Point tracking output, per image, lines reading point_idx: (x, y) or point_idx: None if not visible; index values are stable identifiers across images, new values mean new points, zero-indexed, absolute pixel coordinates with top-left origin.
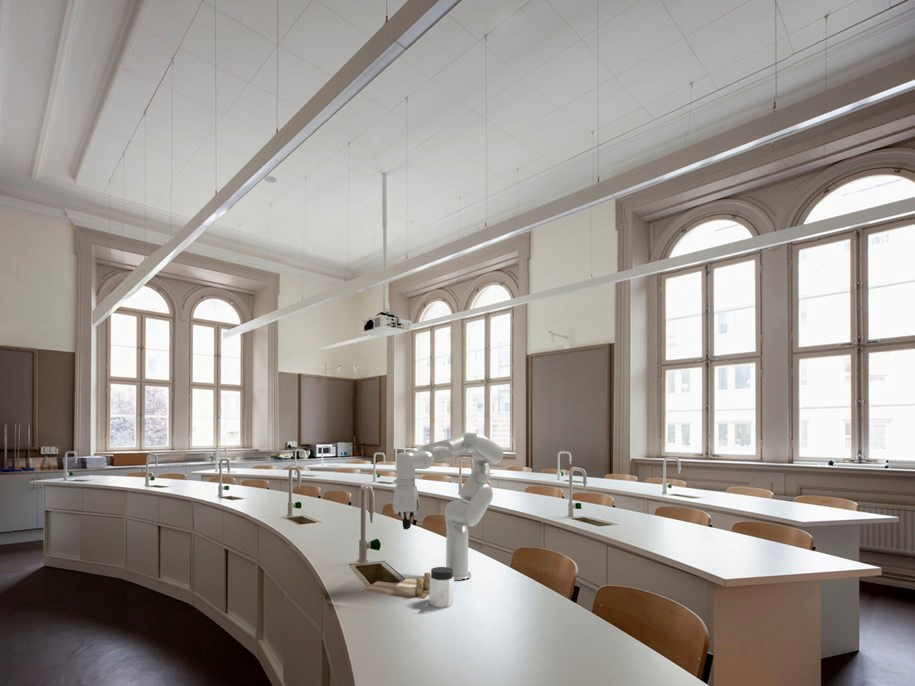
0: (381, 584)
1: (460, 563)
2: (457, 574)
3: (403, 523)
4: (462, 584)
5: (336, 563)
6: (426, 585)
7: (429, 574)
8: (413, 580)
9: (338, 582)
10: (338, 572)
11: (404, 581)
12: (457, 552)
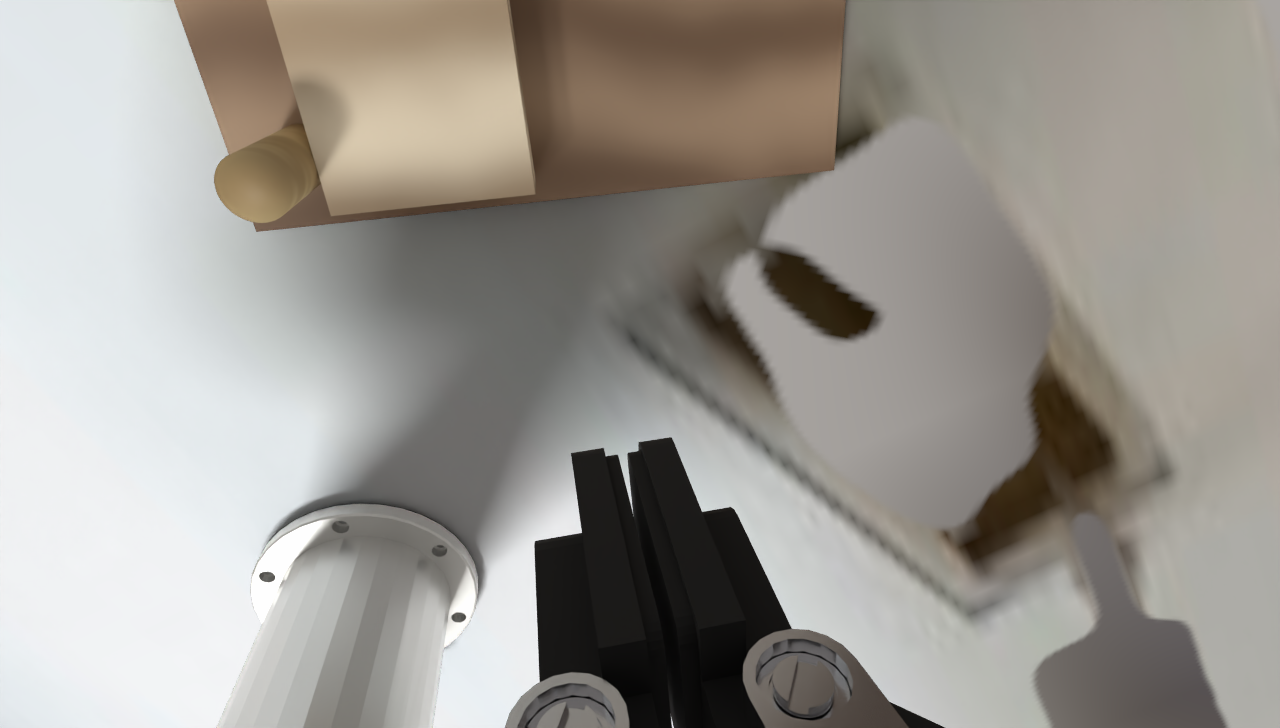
0: (760, 94)
1: (264, 636)
2: (309, 558)
3: (699, 522)
4: (207, 461)
5: (1258, 445)
6: (278, 131)
7: (216, 174)
8: (425, 130)
9: (1150, 41)
10: (1206, 282)
11: (486, 50)
12: (250, 709)
